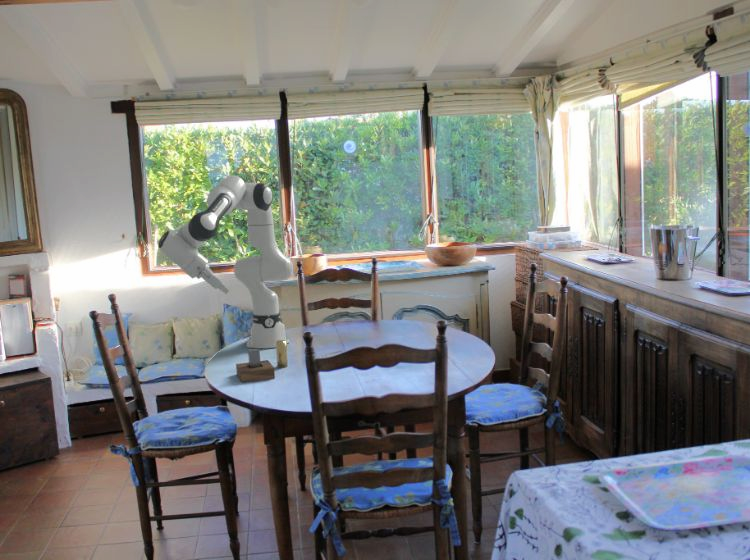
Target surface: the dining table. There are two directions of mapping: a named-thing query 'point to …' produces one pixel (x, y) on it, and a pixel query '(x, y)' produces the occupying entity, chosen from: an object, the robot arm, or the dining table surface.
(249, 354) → the square bit
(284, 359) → the round bit
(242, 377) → the bore block
